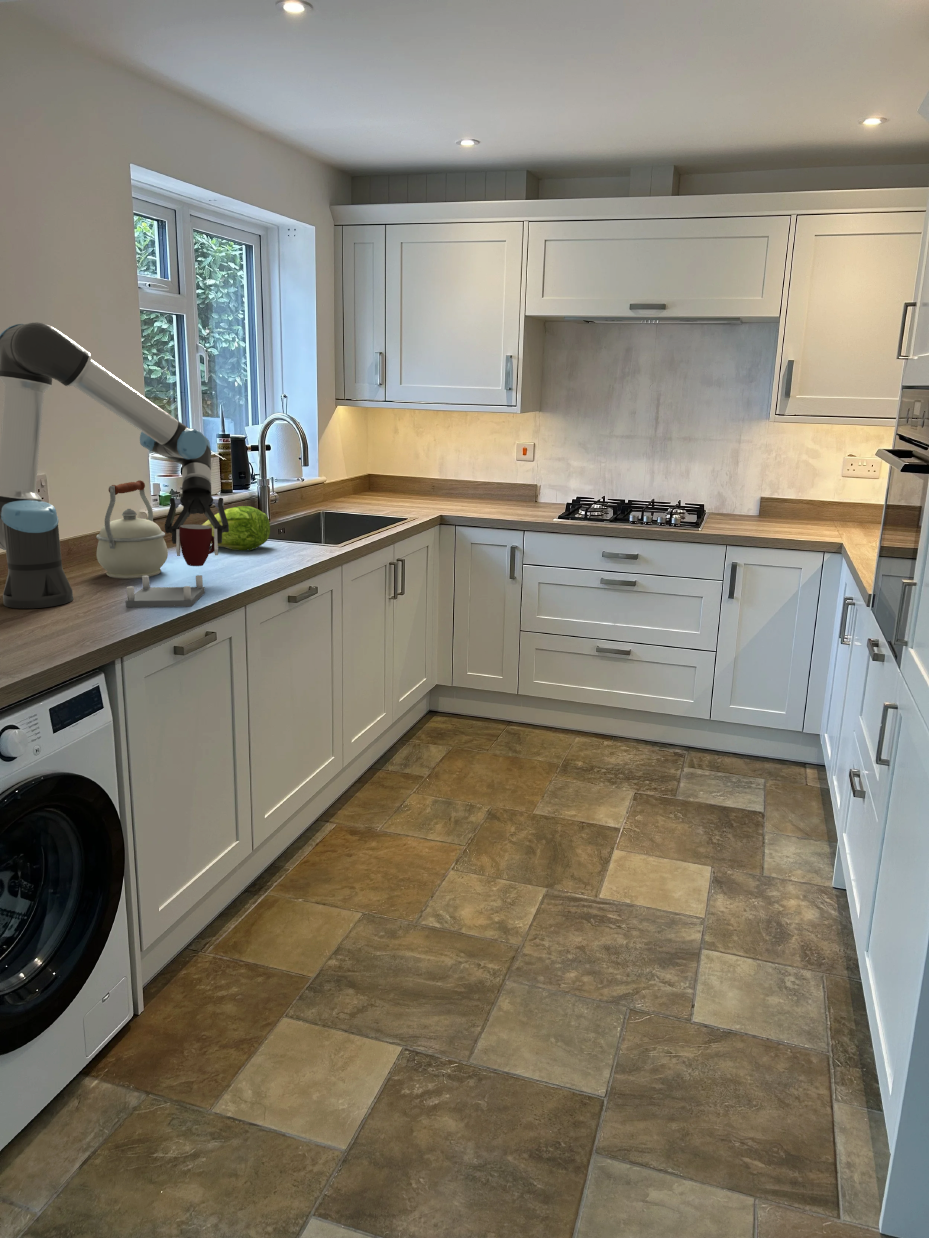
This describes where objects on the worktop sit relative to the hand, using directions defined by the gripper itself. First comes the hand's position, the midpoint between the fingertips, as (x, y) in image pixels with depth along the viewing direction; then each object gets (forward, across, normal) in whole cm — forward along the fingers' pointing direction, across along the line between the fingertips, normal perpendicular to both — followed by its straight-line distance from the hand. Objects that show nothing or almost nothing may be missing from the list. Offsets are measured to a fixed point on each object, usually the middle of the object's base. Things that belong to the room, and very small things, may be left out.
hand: (197, 552), depth 238 cm
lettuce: (-35, -8, -47) cm, 60 cm away
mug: (0, 0, -5) cm, 5 cm away
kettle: (-9, +17, -22) cm, 29 cm away
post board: (+17, +7, +5) cm, 19 cm away
